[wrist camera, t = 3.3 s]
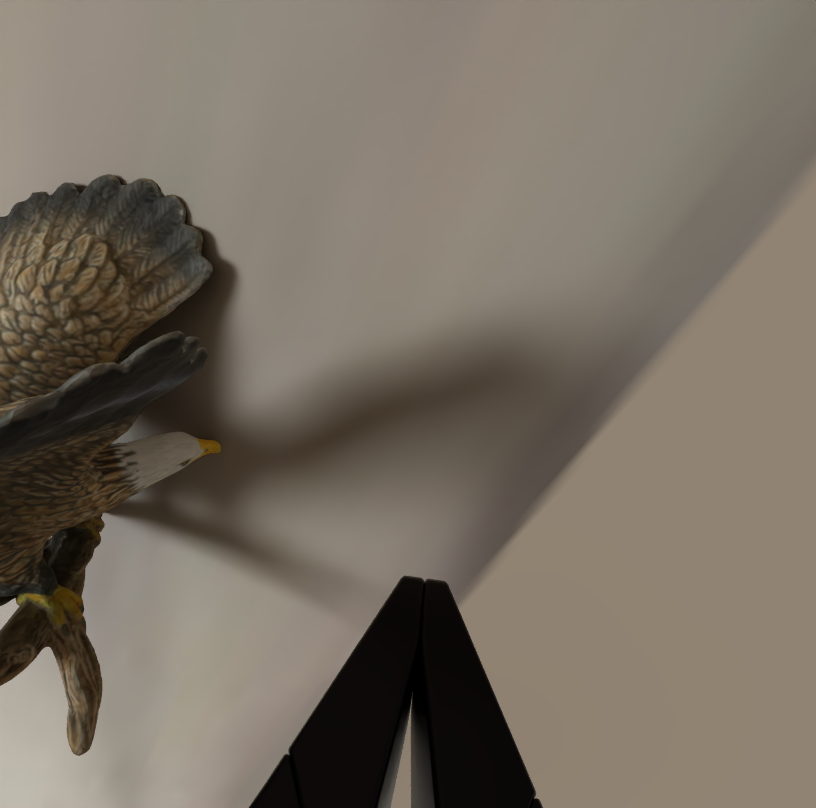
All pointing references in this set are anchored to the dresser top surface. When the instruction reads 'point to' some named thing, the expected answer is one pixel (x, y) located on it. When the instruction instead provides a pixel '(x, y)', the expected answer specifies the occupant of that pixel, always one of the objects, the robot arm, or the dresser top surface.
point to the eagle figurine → (83, 401)
